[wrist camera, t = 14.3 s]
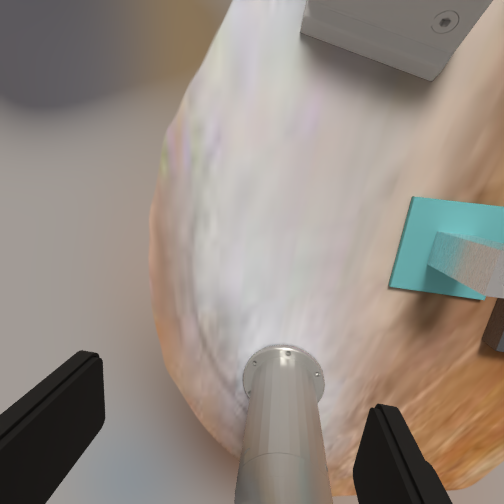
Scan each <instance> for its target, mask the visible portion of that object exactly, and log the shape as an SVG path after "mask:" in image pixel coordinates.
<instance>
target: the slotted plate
mask: <svg viewBox="0 0 504 504" xmlns="http://www.w3.org/2000/svg"><path fill="white" fill-rule="evenodd" d="M482 340H483V341H484V342H485V343H486V344H488V345H489V346H490V347H492V348H493V349H494V350H495V351H500V352H504V298H498V299H497V302H496V304H495V307H494V310H493V312H492V315H491V317H490V320H489V322H488V325H487V327H486V330H485V333H484V335H483V338H482Z"/></svg>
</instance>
